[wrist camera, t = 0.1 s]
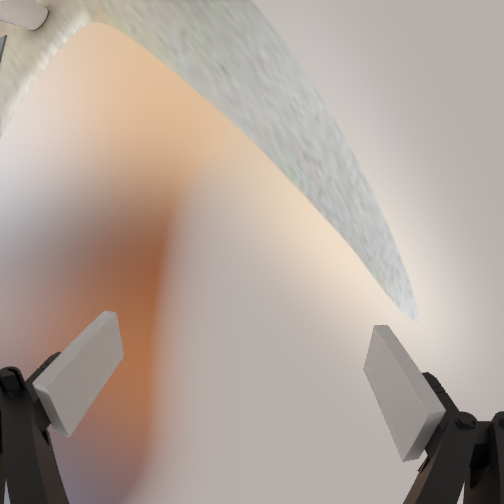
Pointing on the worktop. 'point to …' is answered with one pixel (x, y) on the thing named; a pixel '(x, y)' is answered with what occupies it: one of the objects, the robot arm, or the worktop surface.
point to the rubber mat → (2, 45)
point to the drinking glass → (23, 13)
